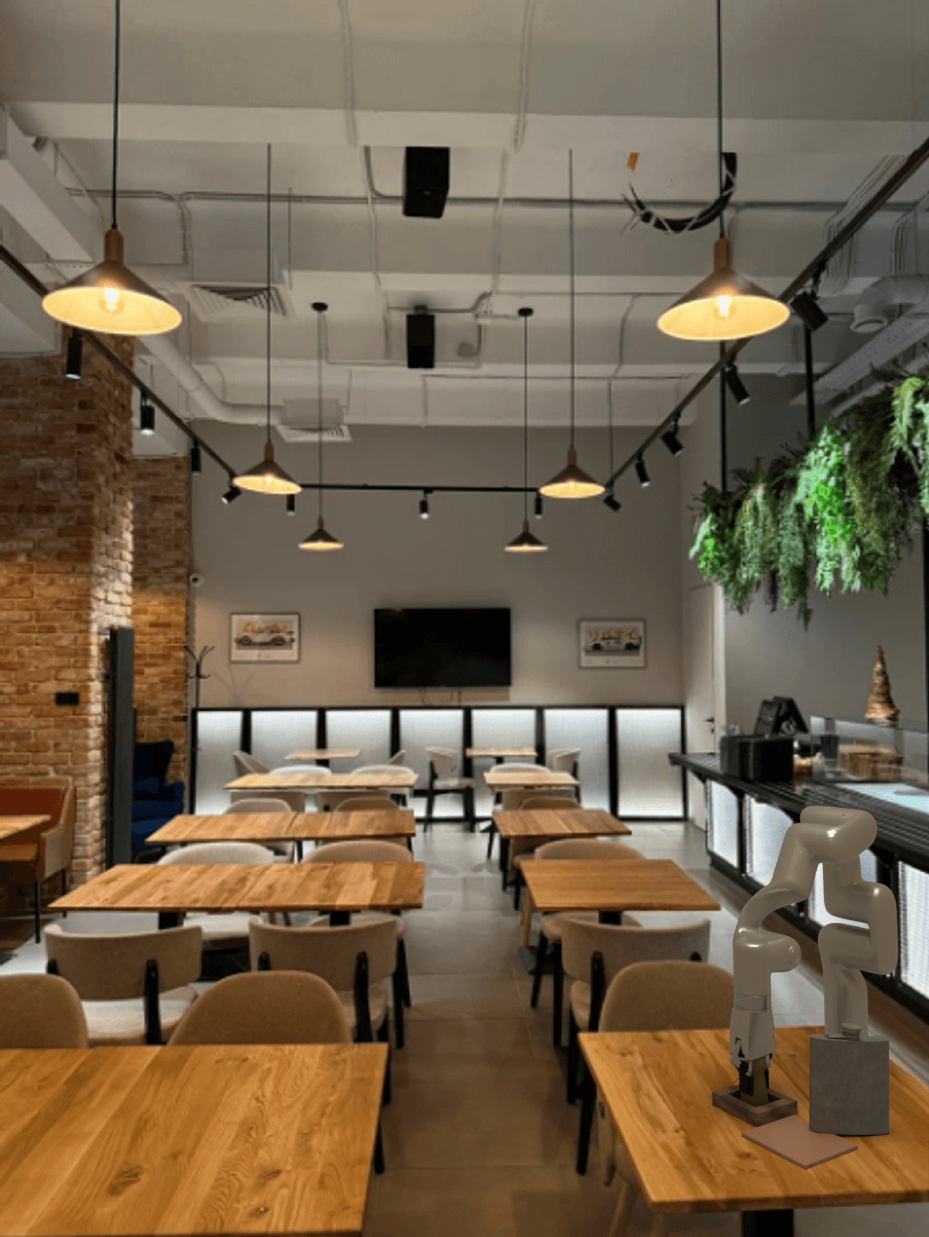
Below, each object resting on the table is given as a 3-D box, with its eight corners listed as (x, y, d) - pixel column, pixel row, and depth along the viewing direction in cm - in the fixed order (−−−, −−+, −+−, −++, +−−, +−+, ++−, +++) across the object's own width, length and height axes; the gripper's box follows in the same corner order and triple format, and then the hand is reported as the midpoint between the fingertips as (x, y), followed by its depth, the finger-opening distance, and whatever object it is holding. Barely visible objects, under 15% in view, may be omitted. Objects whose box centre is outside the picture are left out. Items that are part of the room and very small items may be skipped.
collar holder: (752, 1092, 203) (751, 1080, 203) (797, 1113, 193) (797, 1100, 193) (712, 1104, 197) (712, 1092, 197) (757, 1127, 186) (756, 1114, 187)
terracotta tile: (793, 1118, 190) (793, 1114, 191) (858, 1148, 178) (858, 1145, 178) (741, 1135, 183) (741, 1132, 183) (805, 1169, 170) (805, 1165, 170)
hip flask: (883, 1126, 187) (884, 1022, 189) (894, 1135, 183) (894, 1029, 185) (806, 1125, 186) (807, 1020, 188) (815, 1134, 182) (816, 1027, 184)
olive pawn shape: (772, 1115, 191) (771, 1060, 192) (742, 1114, 192) (741, 1058, 193) (766, 1102, 197) (765, 1049, 198) (736, 1101, 198) (736, 1047, 199)
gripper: (761, 987, 205) (763, 1074, 203) (712, 1003, 194) (713, 1094, 193) (791, 996, 199) (793, 1086, 197) (742, 1013, 188) (744, 1107, 187)
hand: (754, 1089), depth 195 cm, fingers closed on olive pawn shape, 4 cm apart
